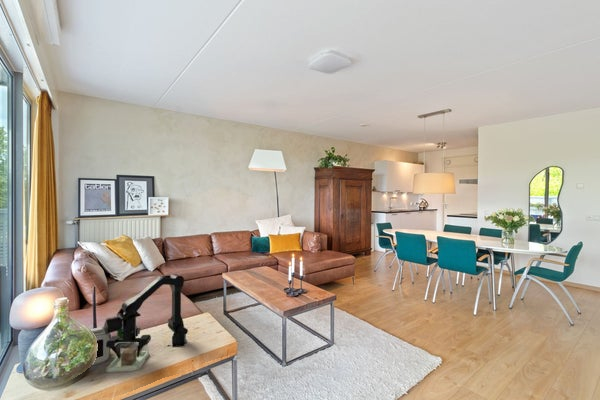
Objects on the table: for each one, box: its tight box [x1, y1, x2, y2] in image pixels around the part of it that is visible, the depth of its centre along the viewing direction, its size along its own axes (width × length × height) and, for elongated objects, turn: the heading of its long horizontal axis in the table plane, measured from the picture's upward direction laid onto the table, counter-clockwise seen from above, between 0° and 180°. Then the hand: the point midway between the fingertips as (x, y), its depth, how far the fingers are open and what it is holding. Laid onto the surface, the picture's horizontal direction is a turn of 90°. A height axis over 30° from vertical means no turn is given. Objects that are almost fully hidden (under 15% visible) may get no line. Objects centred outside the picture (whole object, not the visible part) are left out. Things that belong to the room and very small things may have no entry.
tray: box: [105, 350, 150, 373], centre depth 142 cm, size 14×14×2 cm
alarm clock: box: [89, 326, 111, 366], centre depth 144 cm, size 16×11×16 cm
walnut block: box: [121, 347, 137, 366], centre depth 142 cm, size 5×5×6 cm
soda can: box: [116, 326, 131, 347], centre depth 160 cm, size 8×8×12 cm
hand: (128, 357), depth 142 cm, fingers open, 8 cm apart
